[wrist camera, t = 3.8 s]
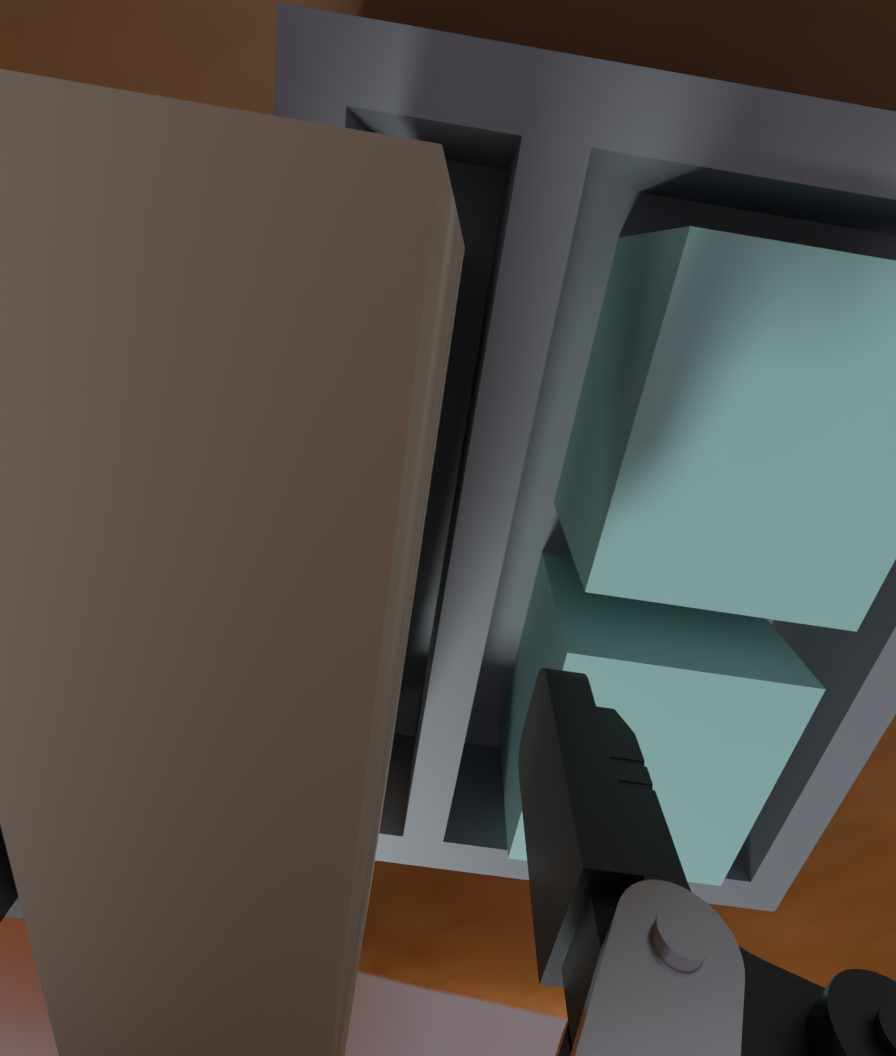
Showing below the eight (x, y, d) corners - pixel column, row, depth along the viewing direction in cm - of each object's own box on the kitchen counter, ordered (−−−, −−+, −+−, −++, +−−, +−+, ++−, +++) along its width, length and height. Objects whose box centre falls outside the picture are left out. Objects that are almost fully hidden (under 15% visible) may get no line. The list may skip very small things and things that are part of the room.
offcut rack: (304, 721, 22) (260, 845, 18) (341, 90, 14) (276, 2, 9) (710, 776, 23) (774, 911, 18) (980, 200, 14) (1229, 170, 10)
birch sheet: (354, 688, 20) (155, 1435, 7) (400, 239, 14) (-197, 33, 1) (400, 694, 20) (283, 1446, 7) (465, 249, 14) (440, 144, 1)
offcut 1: (553, 503, 17) (585, 591, 12) (617, 237, 14) (690, 226, 9) (753, 533, 17) (856, 631, 13) (858, 278, 14) (1042, 285, 10)
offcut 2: (499, 726, 20) (508, 858, 16) (541, 551, 18) (567, 652, 13) (665, 748, 21) (720, 886, 16) (734, 580, 18) (825, 689, 13)
